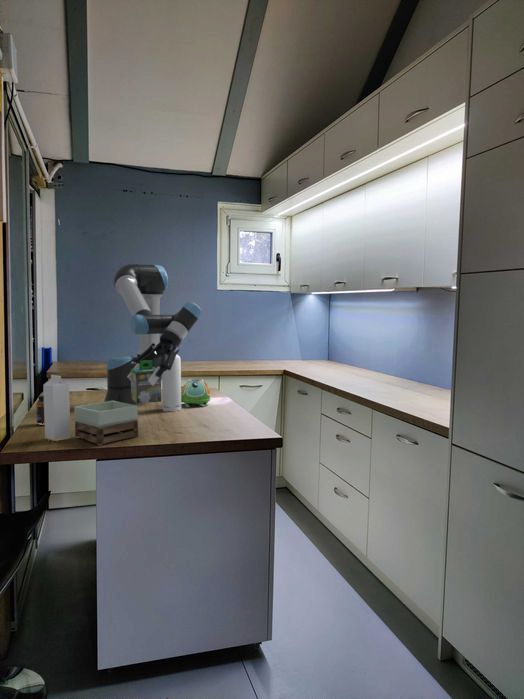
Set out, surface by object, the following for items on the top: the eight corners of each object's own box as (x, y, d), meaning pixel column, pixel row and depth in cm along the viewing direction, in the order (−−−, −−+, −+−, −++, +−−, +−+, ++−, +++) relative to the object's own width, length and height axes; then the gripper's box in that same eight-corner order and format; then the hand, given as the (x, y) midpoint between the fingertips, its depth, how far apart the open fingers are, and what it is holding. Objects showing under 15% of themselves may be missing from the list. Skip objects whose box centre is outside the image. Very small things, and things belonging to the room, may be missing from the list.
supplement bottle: (57, 423, 196) (56, 394, 195) (46, 426, 191) (45, 397, 190) (44, 422, 198) (43, 393, 197) (33, 425, 193) (32, 396, 192)
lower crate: (75, 438, 173) (74, 420, 173) (113, 430, 185) (113, 414, 184) (99, 445, 164) (99, 427, 163) (138, 436, 175) (137, 419, 174)
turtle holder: (172, 403, 239) (171, 378, 238) (210, 402, 240) (210, 377, 239) (169, 408, 226) (169, 382, 225) (210, 407, 228) (210, 381, 227)
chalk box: (155, 397, 189) (154, 358, 187) (162, 401, 181) (161, 360, 179) (130, 399, 185) (129, 359, 183) (136, 404, 176) (135, 362, 175)
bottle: (162, 408, 226) (161, 346, 224) (180, 407, 227) (179, 345, 225) (162, 411, 218) (161, 347, 216) (181, 411, 219) (180, 347, 217)
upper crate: (74, 420, 173) (74, 406, 172) (113, 414, 184) (112, 400, 184) (99, 427, 163) (98, 412, 163) (137, 419, 174) (137, 405, 174)
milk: (60, 436, 176) (59, 373, 175) (70, 438, 173) (69, 374, 171) (44, 439, 171) (42, 375, 170) (54, 442, 168) (52, 376, 166)
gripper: (200, 344, 185) (167, 391, 174) (159, 340, 200) (126, 383, 190) (189, 330, 180) (154, 378, 170) (148, 327, 195) (114, 371, 185)
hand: (139, 381), depth 180 cm, fingers closed on chalk box, 11 cm apart
